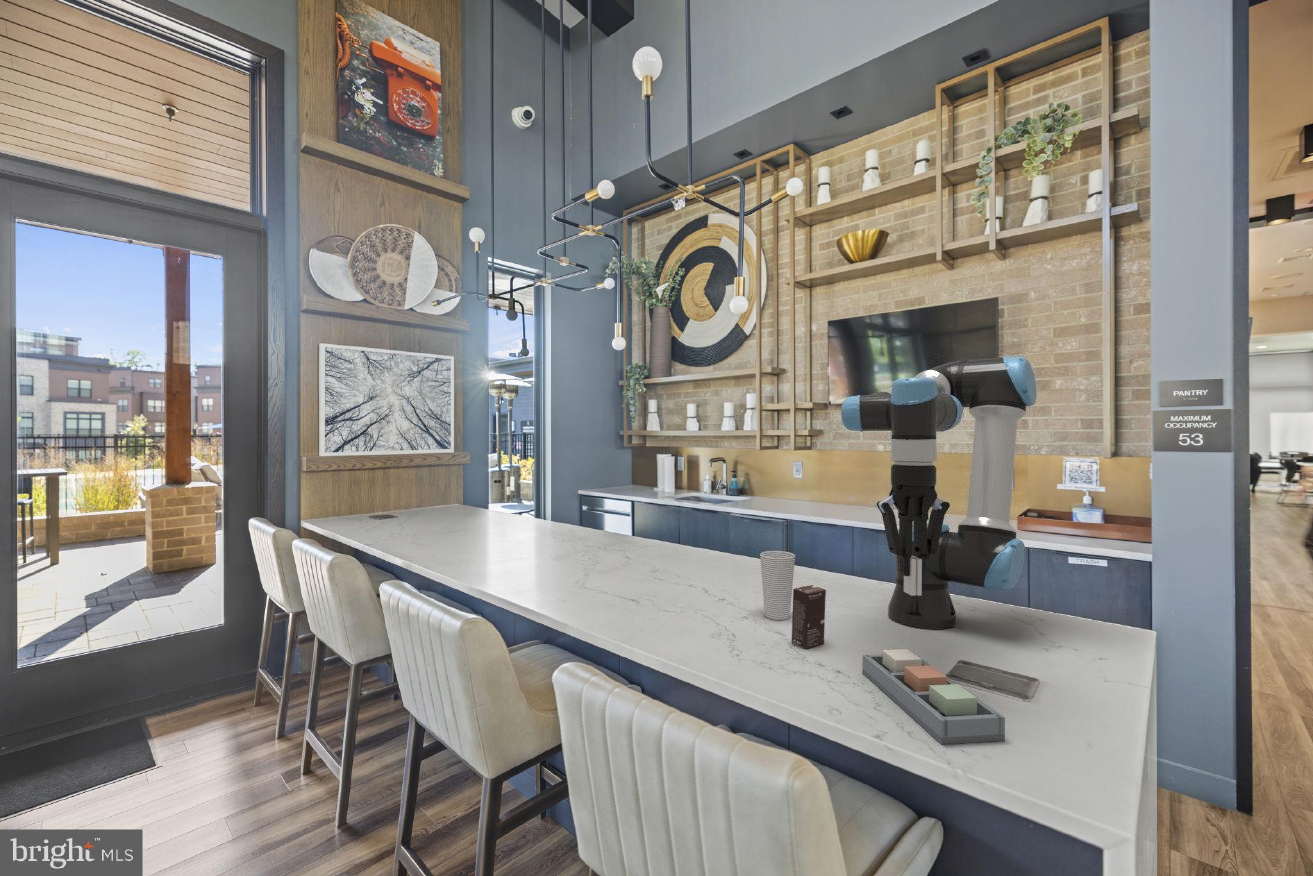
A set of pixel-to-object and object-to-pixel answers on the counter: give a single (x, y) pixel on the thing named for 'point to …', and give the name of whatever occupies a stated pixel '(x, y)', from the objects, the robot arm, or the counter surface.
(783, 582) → the cup
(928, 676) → the key terracotta
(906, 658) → the key ivory
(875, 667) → the gray divided tray
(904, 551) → the robot arm
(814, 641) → the box
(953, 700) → the key sage
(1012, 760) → the counter surface
